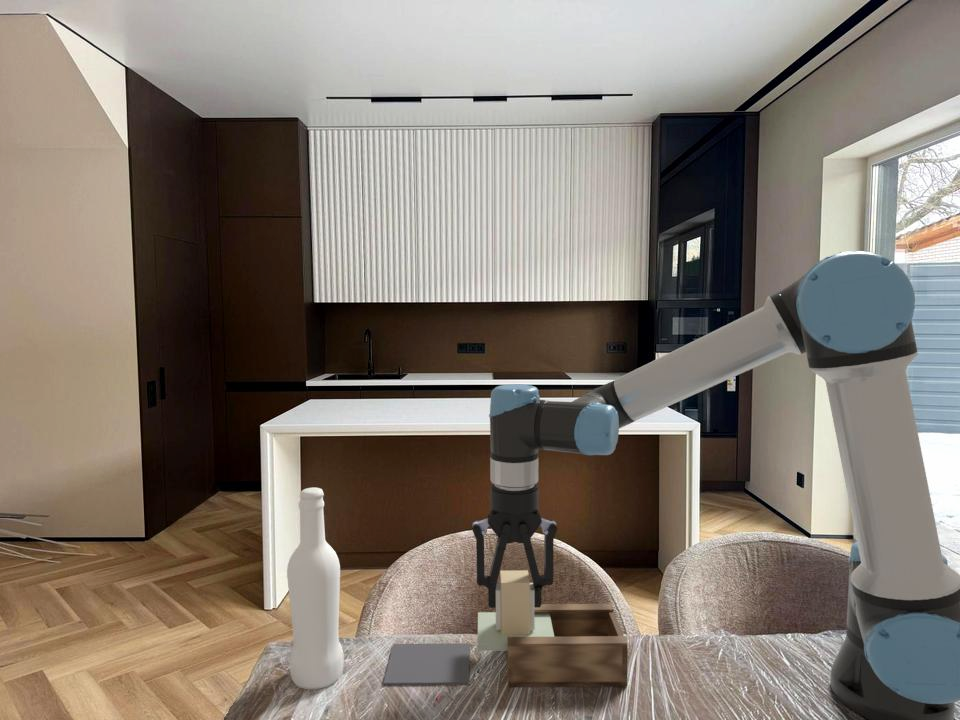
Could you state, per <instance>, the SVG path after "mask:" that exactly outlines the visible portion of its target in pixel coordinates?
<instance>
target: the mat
mask: <svg viewBox="0 0 960 720" xmlns="http://www.w3.org/2000/svg"><path fill="white" fill-rule="evenodd" d="M470 655H471V643H469V642H467V643H462V642H461V643H460V642H459V643H456V642H455V643H393V644H392V649H391V652H390V657H389V661H388V663H387V664H388V665H387V669H386V673H385V674H384V675H385V676H384V680H383V686H467V685H468V686H469V685H470V662H471V660H470V659H471V656H470Z"/></svg>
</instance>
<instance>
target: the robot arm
mask: <svg viewBox="0 0 960 720" xmlns="http://www.w3.org/2000/svg"><path fill="white" fill-rule="evenodd" d="M913 287H914V286H913V285H912V282H911V280H910V278H909V276H908V275H907V274H906V272H905V271H904V270H903V269H902V268H901V267H900V266H899V265H898V264H897V263H896V262H894V261H892V260H890V259H889V258H888V257H885V256H884V255H880V254H878V253H875V252H873V251H866V250H864V251H863V250H850V251H840V252H838V253H837V254H833V255H829V256H826V257H824V258H823V259H821V260H819V261H818V262H817V263H815V264H814V265H812V267H811V268H810V269H809V270H808V271H807V272H806V273H804V274H803V275H801V276H800V277H799V278H798V279H796V280H795V281H794V282H792V283H791V284H789V285H787V286H786V287H784V288H783V289H781V290H779V291H777V292H775V293H773V294H771V295H768V296H766V300H765V303H764V305H763V306H762V307H760V308H758V309H756V310H753V311H752V312H749V313H748V314H746V315H744V316H742V317H739V318H738V319H735V320H734V321H732V322H730V323H727V324H726V325H724V326H721V327H719V328H717V329H715V330H713V331H711V332H709V333H707V334H705V335H703V336H701V337H698V338H696V339H695V340H693V341H691V342H689V343H686V344H685V345H683V346H681V347H678V348H676V349H675V350H673V351H671V352H668V353H666V354H664V355H662V356H660V357H658V358H656V359H654V360H652V361H651V362H648V363H647V364H644V365H642V366H640V367H638V368H635V369H634V370H632V371H629V372H628V373H626V374H623V375H622V376H621V375H620V377H618V378H616V379H614V380H612V381H609V382H607V383H605V384H604V385H602V386H599V387H596V388H593V389H592V390H589V391H587V392H586V393H584V394H583V395H582V396H580V397H578V398H576V399H574V400H573V401H561V400H560V401H556V400H555V401H554V400H545V399H541V398H540V397H541V396H540V395H539V389H538V387H536V386H533V385H530V384H515V383H513V384H503V385H498V386H495V388H493V389H492V390H491V393H490V405H489V414H488V418H489V435H490V452H489V453H490V454H489V455H490V458H489V459H490V460H489V461H490V463H489V465H490V471H489V473H490V474H489V475H490V482H491V485H490V511H489V513H488V515H487V518H484V519H481V520H477V519H475V520H473V521H472V532H473V535H474V537H475V541H476V542H475V543H476V549H475V550H476V584H477V585H478V586H481V587H486V588H487V590H488V597H487V598H488V600H487V601H488V606H489V608H490V609H491V608H492V609H493V608H495V612H496V630H501V589H500V582H498V579H499V577H500V571H501V568H502V563H503V559H504V555H505V552H506V549H507V545H508V544H513V543H516V544H523V546H524V547H523V548H524V552H525V555H526V559H527V562H528V563H527V564H528V567H529V572H530V574H531V579H532V582H530V630H534V607H541V604H542V590H543V587H545V586H552V585H553V583H554V540H555V537H556V534H557V531H558V526H557V522H556V520H554V519H549V520H548V519H545V518H542V516H541V513H540V512H539V486H538V484H537V483H539V450H542V451H551V452H552V451H553V452H561V453H572V454H578V455H579V454H580V455H586V456H608V455H609V456H610V455H612V454H613V453H614V451H615V450H616V448H617V447H616V446H617V444H618V440H619V432H620V431H619V430H620V429H621V428H624V427H626V426H628V425H630V424H631V425H632V424H633V423H634V422H636V421H638V420H640V419H643V418H645V417H647V416H649V415H652V414H654V413H656V412H659V411H661V410H663V409H665V408H667V407H668V408H669V406H672V405H674V404H676V403H679V402H681V401H683V400H685V399H688V398H689V397H692V396H694V395H697V394H698V393H701V392H703V391H706V390H708V389H709V388H713V387H714V386H717V385H719V384H721V383H724V382H725V381H728V380H730V379H732V378H734V377H736V376H739V375H741V374H743V373H745V372H748V371H751V370H753V369H755V368H757V367H759V366H761V365H763V364H766V363H768V362H769V361H772V360H774V359H777V358H779V357H781V356H783V355H786V354H788V353H791V354H795V355H799V356H800V355H803V354H805V353H806V359H807V363H808V368H809V370H810V371H811V372H812V373H814V374H815V375H817V376H818V377H821V378H822V379H823V380H824V381H825V384H826V385H825V386H826V392H827V396H828V400H829V401H828V402H829V406H830V412H831V416H832V417H831V418H832V421H833V427H834V432H835V437H836V440H837V441H836V442H837V447H838V450H839V456H840V462H841V467H842V473H843V477H844V483H845V487H846V492H847V497H848V502H849V507H850V512H851V518H852V522H853V528H854V533H855V539H856V541H855V542H853V544H851V547H850V553H849V557H848V559H847V560H848V563H849V572H848V574H849V575H848V589H847V590H848V591H847V593H848V594H847V612H846V633H845V634H846V635H845V638H844V640H843V642H842V644H841V646H840V649H839V650H838V653H837V655H836V657H835V659H834V661H833V664H832V666H831V668H830V689H831V691H832V693H833V694H834V695H835V697H836V698H837V699H838V700H839V701H840V702H841V703H842V704H843V705H845V706H846V707H847V708H849V709H850V710H852V711H853V712H855V713H856V714H858V715H860V716H862V717H863V718H865V719H868V720H955V712H956V711H955V709H956V708H955V707H956V704H955V703H956V702H959V701H960V574H959V572H957V571H956V570H955V569H953V568H951V567H950V566H948V564H949V563H948V559H947V557H946V556H945V555H944V554H942V549H941V544H940V539H939V533H938V529H937V524H936V519H935V513H934V509H933V504H932V498H931V493H930V489H929V483H928V478H927V472H926V467H925V463H924V459H923V458H924V457H923V453H922V448H921V442H920V438H919V432H918V427H917V423H916V416H915V411H914V405H913V402H912V396H911V392H910V386H909V382H908V377H907V376H908V375H907V371H906V370H907V368H908V366H909V365H910V364H911V363H912V362H913V360H914V359H915V358H916V357H917V356H918V355H919V353H918V352H919V351H918V348H917V343H916V337H915V331H914V325H913V320H912V319H913V317H914V312H915V308H916V306H915V304H916V296H915V290H914V288H913ZM489 527H490V529H491V530H492V531H493V533H495V535H496V536H497V540H496V545H495V550H494V554H493V558H492V562H491V565H490V570H489V575H487V574H485V573H486V572H485V571H486V570H485V536H486V535H487V533H488V528H489ZM539 527H541V531H542V533H543V535H544V539H543V542H544V543H543V547H544V548H543V549H544V550H543V552H544V553H543V555H544V556H543V574H541V575H540V571H539V567H538V564H537V559H536V555H535V552H534V546H533V543H532V537H533V535H534V534H535V533H536V532H537V530H538V529H539Z"/></svg>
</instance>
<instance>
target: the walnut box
mask: <svg viewBox="0 0 960 720" xmlns="http://www.w3.org/2000/svg"><path fill="white" fill-rule="evenodd" d="M613 607H614V606H613V605H612V603H543V604H542V603H541V607H534V612H549V613H550V618H551V623H552V627H553V632H554V637H507V641H508V651H505V660H506V674H507V675H506V677H507V687H508V688H583V687H584V688H588V687H589V688H594V687H595V688H598V687H599V688H601V687H602V688H603V687H604V688H606V687H607V688H608V687H609V688H612V687H613V688H614V687H615V688H616V687H617V688H618V687H622V686H627V687H628V657H629V656H628V655H629V654H628V649H629V648H628V646H629V644H628V643H629V642H628V641H627V638H626V636H625V635H624V634H623V632H622V629H621V627H620V624H619V621H618V620H617V617H616V614H615V612H614V608H613ZM622 688H623V687H622Z"/></svg>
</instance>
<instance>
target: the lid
mask: <svg viewBox="0 0 960 720" xmlns="http://www.w3.org/2000/svg"><path fill="white" fill-rule="evenodd" d="M499 577H500V578H499V579H500V582H499V583H500V590H501V630H496V611H494V612H493V611H490V612H489V611H488V612H486V611H485V612H483V611H482V612H481V611H479V612H477V643H476V644H477V646H476V647H477V649H476V650H477V652H479V651H480V652H485V651H486V652H489V651H490V652H492V651H493V652H494V651H495V652H497V651H498V652H500V651H501V652H502V651H503V652H504V651H505V652H506V651H508V641H507V637H554V632H553V627H552V623H551V618H550V613H549V612H534V630H530V583H531V579H530V574H529V570H526V569H525V570H524V569H523V570H500V572H499Z"/></svg>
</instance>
